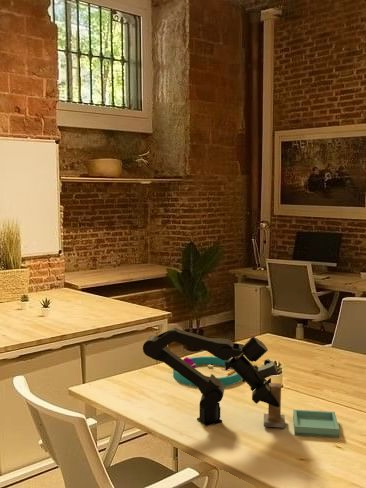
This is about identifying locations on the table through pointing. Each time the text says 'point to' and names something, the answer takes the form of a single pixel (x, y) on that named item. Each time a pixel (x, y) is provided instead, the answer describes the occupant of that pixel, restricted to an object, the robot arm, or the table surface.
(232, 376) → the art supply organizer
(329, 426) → the tray
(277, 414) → the handle post
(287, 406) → the table surface
